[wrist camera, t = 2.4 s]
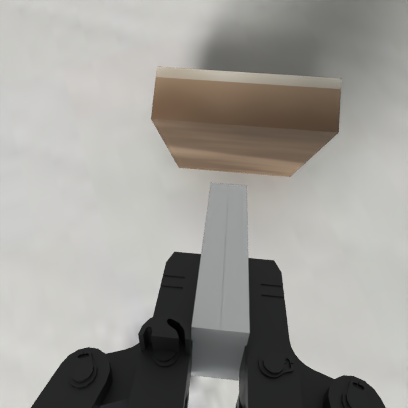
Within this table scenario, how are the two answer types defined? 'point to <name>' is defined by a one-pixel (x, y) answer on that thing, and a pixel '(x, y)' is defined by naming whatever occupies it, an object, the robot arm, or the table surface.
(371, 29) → the table surface
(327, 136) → the walnut tile
